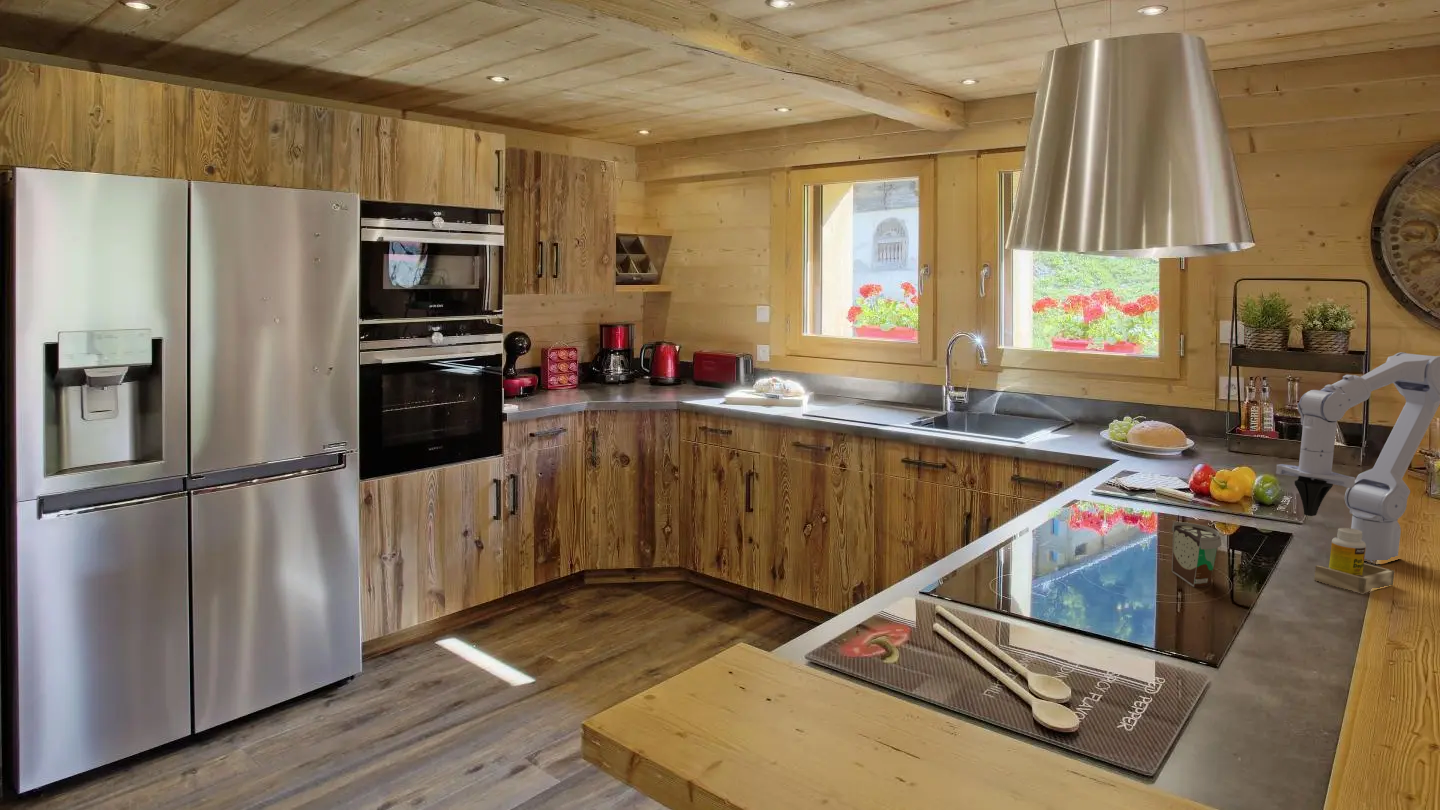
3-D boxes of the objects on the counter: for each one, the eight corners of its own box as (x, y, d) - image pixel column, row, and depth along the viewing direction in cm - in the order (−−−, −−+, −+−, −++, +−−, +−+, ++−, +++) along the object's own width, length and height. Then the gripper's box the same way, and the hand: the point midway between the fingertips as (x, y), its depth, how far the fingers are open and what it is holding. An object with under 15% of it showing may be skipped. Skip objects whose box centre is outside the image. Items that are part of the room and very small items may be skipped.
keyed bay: (1344, 572, 190) (1346, 558, 189) (1392, 585, 182) (1394, 570, 182) (1314, 580, 185) (1315, 565, 184) (1362, 594, 177) (1364, 579, 177)
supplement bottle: (1353, 587, 181) (1359, 535, 179) (1322, 579, 186) (1327, 529, 184) (1366, 582, 184) (1372, 531, 183) (1335, 574, 189) (1341, 524, 187)
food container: (1230, 590, 179) (1235, 539, 177) (1197, 590, 179) (1202, 538, 177) (1199, 569, 191) (1203, 521, 189) (1168, 569, 191) (1172, 521, 190)
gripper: (1270, 445, 196) (1263, 509, 198) (1343, 457, 184) (1336, 525, 186) (1289, 442, 200) (1283, 505, 202) (1363, 454, 187) (1356, 521, 189)
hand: (1310, 514), depth 194 cm, fingers closed
